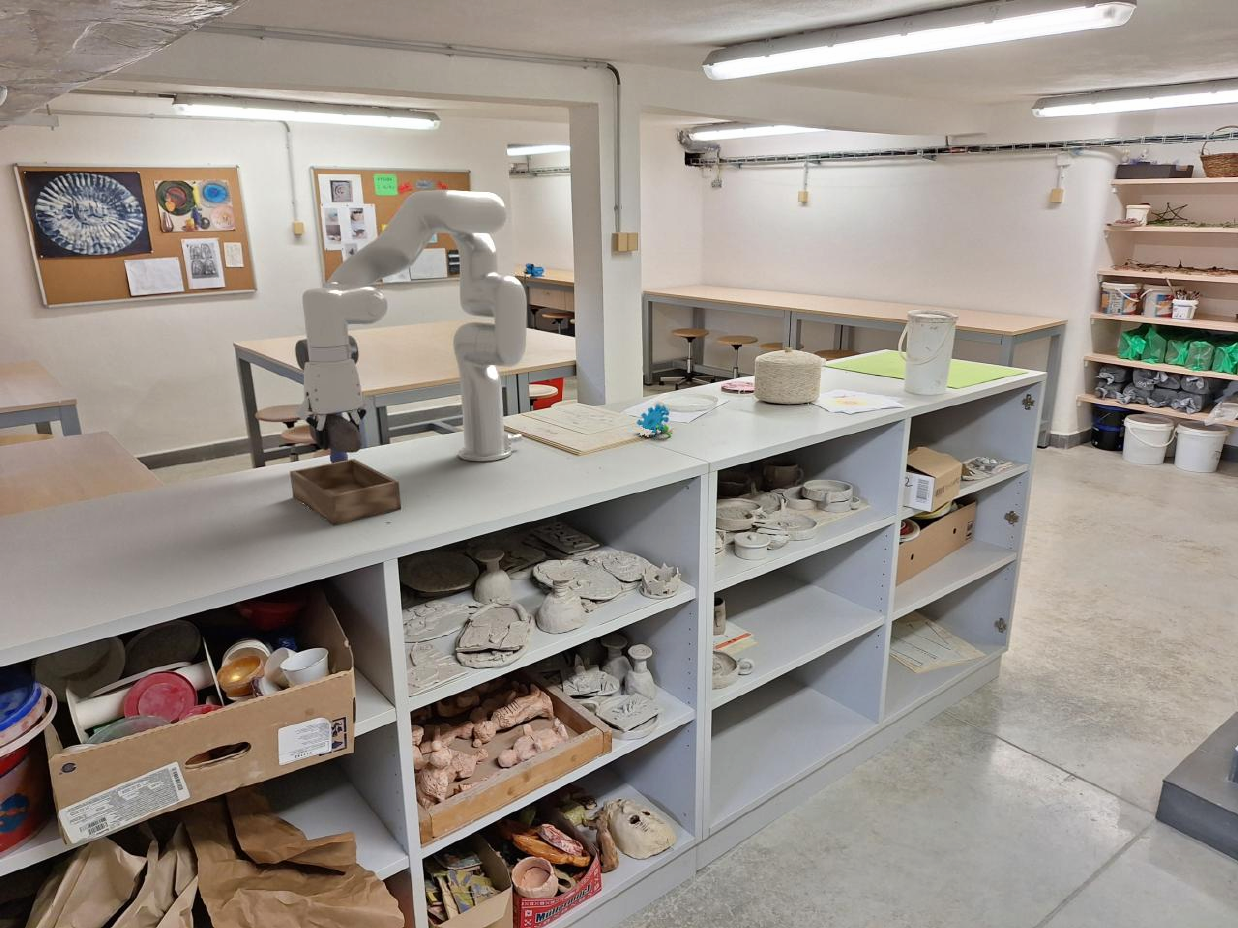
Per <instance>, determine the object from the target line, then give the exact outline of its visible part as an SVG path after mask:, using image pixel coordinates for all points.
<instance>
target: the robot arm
mask: <svg viewBox="0 0 1238 928" xmlns="http://www.w3.org/2000/svg"><path fill="white" fill-rule="evenodd" d="M506 219H507V208H506V206H505V203H504V201H503V200H502V198H501V197H499V196H498V195H497V194H495V193H493V192H487V191H486V192H485V191H467V190H466V191H465V190H463V191H462V190H453V189H433V190H419V191H415V192H413V193H411V194H410V195H408V196H407V197H406V199H405V200H404V202H403V203H402V204H401V206H400V207H399V208H398V209H397V211H396V212H395V213H394V215H393V216H392V218H391V219H390V220H389V221H388V223H387V224H386V226H385V227H384V228H383V230H382V231H381V232H380V234H379V235H378V236H377V237H376V238H375V239H374V240H372V241H371V242H369V243H368V244H366V245H364V246H363V247H362V248H360V249H359V250H358V251H356V252H355V253H352V255H351V256H349V257H348V258H346V259H345V260H344V261H343V262H342V263H341V264H340V265H339V266H338V267H337V268H336V269H335V270H334V272H333V273H332V274H331V275H330V277H329V278H328V279H327V281H325V284H324V285H323V286H322V287H320V288H318V287H317V288H310V289H306V290H305V291H304V292H303V293H302V298H301V299H302V309H303V316H304V317H303V318H304V324H305V325H304V326H305V334H306V339H307V344H308V354H309V362H306V363H305V367H304V371H303V401H302V403H301V404H300V405H299V407H298V408H297V410H296V411H295V416H296V417H298V418H299V419H301V420H303V421H304V422H306V423H307V424H308V426H309V425H311V426H312V427H313V428H315V434H316V445H317V446H318V447H319V448H320V449H322V450H323V451H328V449H329V448H328V439H327V431H326V430H325V429H324V422H325V418H326V415H329V414H335V413H342V414H343V413H346V414H347V417H348V420H349V421H350V422H352V423H353V424H354V425H355V426H356V428H357V429H358V431H359V432H360V424H361V423H362V420H363V418H364V417H365V416H366V415H367V413H368V412H369V410H370V409H371V408H372V407H373V406H374V402H373V401H372V400H370V399H369V398H368V397H367V395H365V394H364V393H363V392H362V386H361V382H360V377H359V374H358V373H359V372H358V370H357V365H356V364H355V362H354V360H353V359H350V357H351V354H352V353H355V352H356V351H357V349H356V346H351V345H350V344H349V338H348V335H349V330H348V326H349V325H366V326H367V325H373V324H375V323H378V322H379V321H381V320H382V319H383V317H384V316H385V315H386V313H387V310H388V301H387V298H386V295H385V294H384V293H383V292H382V291H381V290H379V288H376V287H374V286H371V285H373V284H375V283H376V282H378V281H380V280H382V279H384V278H387V277H390V276H393V275H397V274H399V273H401V272H403V271H405V270H407V269H409V268H411V267H412V266H414V263H416V261H417V260H418V258H419V257H420V255H421V254H422V252H423V251H424V249H425V248H426V246H427V245H428V244H429V242H430V241H431V240H432V238H433V237H434V236H435V235H436V234H448V235H449V236H450V238H451V239H452V240H453V242H454V243H455V246H456V248H457V250H458V251H457V252H458V257H459V258H458V259H459V300H460V306H461V309H462V310H463V311H464V313H466V314H467V315H471V316H475V317H481V318H482V317H483V318H494V319H493V320H494V323H492V322H479V321H474V322H467V323H465V324H463V325H460V326H459V327H458V328H457V330H455V332H454V336H453V339H452V340H453V344H452V347H453V351H454V355H455V360H456V362H457V366H458V367H457V368H458V372H459V373H458V374H459V381H460V382H459V383H460V396H461V411H462V414H461V415H462V424H463V425H462V428H463V440H464V441H463V442H464V447H461V448H460V449H459V450H458V457H459V458H460V459H462V460H465V461H470V462H471V461H472V462H493V461H497V460H502V459H505V458H508V457H510V455H512V448H511V447H510V445H512V444H513V443H519V442H523V441H522V440H523V436H522V434H521V433H517V434H511V433H509V434H508V433H505V429H504V428H505V425H504V409H503V389H502V388H503V387H502V379H501V375H500V372H499V370H498V368H497V367H503V368H511V367H516V366H517V365H519V364H520V363H521V362H522V361H523V358H524V357H525V356H524V355H525V352H526V347H527V313H528V312H527V311H528V309H527V308H528V307H527V306H528V305H527V302H528V301H527V295H526V291H525V287H524V286H523V284H522V283H521V281H520V280H519V279H517V278H516V277H515V276H512V275H507V274H499V271H498V253H497V248H496V245H495V242H494V241H493V239H492V237H491V235H492V234H494V233H495V234H496V233H497V232H498V231H500V230H501V229H502V227H503V226H505V222H506ZM490 234H491V235H490ZM308 412H309V413H313V414H314V418H311V416H310V415H308V414H307V413H308Z"/></svg>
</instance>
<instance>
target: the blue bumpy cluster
mask: <svg viewBox="0 0 1238 928" xmlns="http://www.w3.org/2000/svg"><path fill="white" fill-rule="evenodd" d="M647 411H648V413H646V412H642V413H641V414H640V417H641V418H642V419H643V421H642V420H641V419H638V420H637V422H636V424H637V425H638V426H641V427H643V428H645V429H649V430H653V431H652V432H651V434H652V433H655V434H656V435H658V431H659V432H660V431H661V432H662V433H661V432H660V433H661V434H666V436H668V438H671V437H672V434H671V433H670V432H669V427H668V425H667V424H663V423H662V422H664V423H668V422H669V420H670V418H669V417H668V416H670V411H669V410H668V409H667V407H666V405H660V404H656V405H655V406H654V408H653V406H652V407H648V409H647Z"/></svg>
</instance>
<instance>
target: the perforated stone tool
mask: <svg viewBox="0 0 1238 928" xmlns="http://www.w3.org/2000/svg"><path fill="white" fill-rule="evenodd" d="M310 417H311V418H314V413H313V414H312V415H311V416H310ZM349 420H350V419H347V418H345V417H344V416H343V417H342V416H340V415H338V414H329V415H326V418H325V422H324V429H325V430H326V431H327V439H328V449H330V450H331V449H333V450H336V451H341V452H346V453H347V454H349V453H350V454H354V453H357V452H359V451H360V449H361V448H362V446H363V438H362V437H363V436H362V434H361V433H360V432H359V431H358V429H357V428H356V426H355V425H354V424H353V423H352V422H350V421H349ZM308 426H309V434H310V437H311V438H312V440H314V442H316V434H315V428H313V427H312V426H311V425H309V424H308ZM316 443H317V442H316Z"/></svg>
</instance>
